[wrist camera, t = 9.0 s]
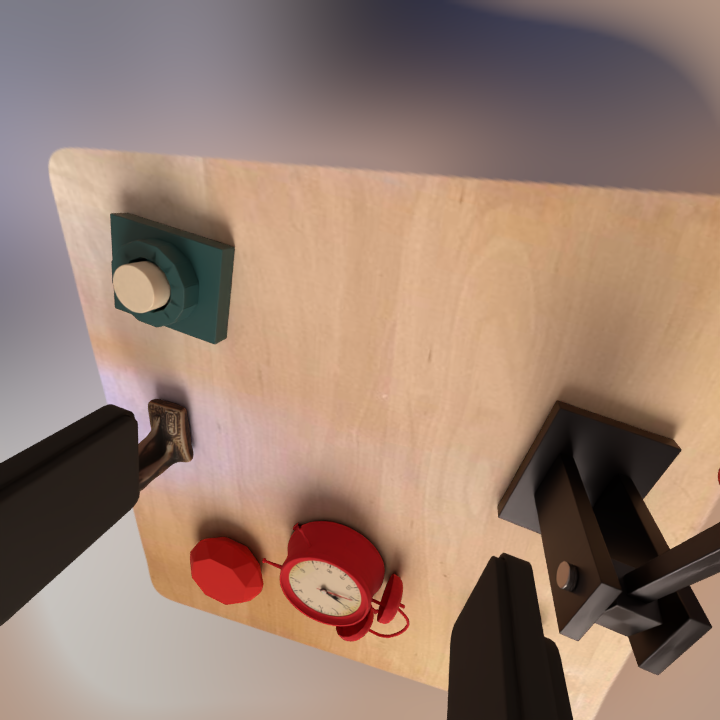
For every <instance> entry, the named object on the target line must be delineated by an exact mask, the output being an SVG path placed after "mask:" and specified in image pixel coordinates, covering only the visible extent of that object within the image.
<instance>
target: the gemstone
mask: <svg viewBox="0 0 720 720" xmlns="http://www.w3.org/2000/svg"><path fill="white" fill-rule="evenodd" d="M190 564H191V574H192V578H193V579H194V581H195V582H196V583H197V585H198V586H199V587H200V588H201V590H202V591H203V592H204V594H205V595H207V596H209V597H211V598H213V599H215V600H217V601H219V602H221V603H223V604H225V605H228V604H235V603H242V602H247V601H251V600H252V599H253V598H254V597H256V596H257V595H258V594H259V593H260V592H261V591H262V588H263V579H262V574H261V568H260V564H259V563H258V561H257V560H256V558H255V557H254V556H253V554H252V553H251V551H250V550H249V549H248V547H247V546H245V545H242V544H240V543H238V542H236V541H234V540H232V539H230V538H227V537H219V538H207V539H203V540H200V542H199V543H198V544H197V545H196V546H195V547H194V548H193V549H192V551H191V552H190Z"/></svg>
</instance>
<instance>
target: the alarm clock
mask: <svg viewBox="0 0 720 720" xmlns="http://www.w3.org/2000/svg"><path fill="white" fill-rule="evenodd" d="M297 524H298V523H297ZM297 524H296V525H295V526H294V527H293V530H294V533H293V534H292V536H291V538H290V540H289V543H288V556H287V558H286V560H285V562H284V563H283V565H279V564H276V563H273V562H270V561H267V560H266V558H263V560H262V562H263V563H265V562H266V563H268V564H270V565H273V566H275V567H277V568H279V569H281V572H280V585H281V588H282V591H283V593H284V595H285V596H286V598H287V599H288V600H289V601H290V603H291V604H292V605H293V606H294V607H295V608H296V609H298V610H299V611H300V612H301V613H303V614H304V615H306V616H308V617H309V618H311V619H313V620H315V621H318V622H321V623H324V624H327V625H332V626H336V630H337V633H338V635H339V636H340V637H341V638H342V639H344V640H345V641H356V640H359V639H360V638H362V637H363V636H365V634H366V633H367V632H368V631H369V632H371V633H372V634H375V635H377V636H379V637H383V638H390V637H395V636H398V635H400V634H402V633H403V632H404V631H406V630H407V628H408V627H409V619H408V618H407V616H406V615H405V614H404V612H403V611H402V610H401V609H400V608H399V607H401V608H403V609H404V608H405V605H403V604H401V603H400V602H401V598H402V594H403V583H402V580H401V579H400V577H398V576H397V575H395V574H392V575H391V577H390V579H389V581H388V583H387V585H386V587H385V590H384V593H383V596H382V599H381V602H379V601H377V600H375V599H373V598H372V597H373V595H374V594H375V593H376V592H377V591H378V590H379V589H380V587H381V585H382V583H383V579H384V574H385V569H384V563H383V560H382V558H381V556H380V554H379V552H378V551H377V549H376V548H375V547H374V546H373V545H372V543H371V542H370V541H368V540H367V539H366V538H365V537H364V536H362V535H361V534H360V533H358V532H357V531H355V530H353V529H351V528H349V527H346V526H344V525H341V524H338V523H334V522H328V521H314V522H309V523H306V524H304V525H302V526H300V527H299V526H298V525H297ZM371 602H374V603H376V604H378V605H380V606H379V610H378V609H377V610H375V609H374V608H373V607H372V605H371ZM397 611H399V612H400V613H401V614H402V615H403V616H404V618H405V619H406V621H407V625H406V626H405V628H403V629H402V630H401V631H399V632H397V633H394V634H391V635H384V634H379V633H377V632H375V631H373V630H371V629H370V627H371V625H372V622H373V618H374V614H377V613H378V616H377V621H378V622H380V623H383V624H386V623H389V622H390V621H391V620H392V619H393V618H394V617H395V615H396V613H397Z"/></svg>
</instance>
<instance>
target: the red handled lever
mask: <svg viewBox="0 0 720 720" xmlns="http://www.w3.org/2000/svg"><path fill="white" fill-rule="evenodd" d="M718 481H719V484H720V469H719V472H718ZM611 561H612V563H613V566H614V569H615V572H616V574H617V577H618V580H619V583H620V585H621V588H622V592H621V594H620V595H619V596H618V597H617V598H616V599H615V600H614V601H613V603H612V604H611V605H610V606H609V607H608V608H607V609H606V610H605V612H604V613H603V614H602V615H601V616H600V617H599V618H598V620H597V621H596V622H595V623H596V624H598V625H601V626H603V627H606V628H608V629H610V630H613V631H615V632H618V633H620V634H622V635H625V636H627V637H629V636H631V635H634V634H637V633H639V632H642V631H645V630H648V629H650V628H653V627H656V626H658V625H661V624H662V623H663V622H662V617H661V613H660V608H659V603H658V599H660V598H662V597H664V596H667V595H669V594H671V593H674V592H676V591H678V590H680V589H683V588H685V587H687V586H690V585H692V584H694V583H696V582H699V581H701V580H703V579H705V578H708V577H710V576H712V575H715V574H717V573H719V572H720V522H719V523H717V524H716V525H714V526H712V527H710V528H708V529H706V530H705V531H703V532H701V533H699V534H697V535H696V536H694V537H692V538H690V539H688V540H687V541H685V542H683V543H681V544H679V545H678V546H676V547H674V548H672V549H670V550H668V551H667V552H665V553H663V554H661V555H659V556H658V557H656V558H654V559H652V560H650V561H649V562H647V563H645V564H643V565H641V566H639V567H638V568H634V567H632V566H629V565H627V564H624V563H622V562H619V561H617V560H614V559H611Z"/></svg>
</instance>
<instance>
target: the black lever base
mask: <svg viewBox="0 0 720 720" xmlns="http://www.w3.org/2000/svg"><path fill="white" fill-rule="evenodd" d="M680 452H681V448H680V447H679V446H678V445H677V443H676V442H675V441H674V440H672V439H669V438H666V437H663V436H660V435H657V434H654V433H651V432H648V431H645V430H642V429H639V428H636V427H634V426H631V425H628V424H625V423H622V422H619V421H616V420H613V419H610V418H607V417H604V416H601V415H598V414H595V413H592V412H589V411H586V410H583V409H581V408H578V407H575V406H572V405H569V404H566V403H563V402H560V401H557V402H556V404H555V405H554V407H553V409H552V411H551V412H550V414H549V416H548V418H547V420H546V421H545V423H544V425H543V427H542V429H541V430H540V432H539V434H538V436H537V438H536V439H535V441H534V443H533V445H532V446H531V448H530V450H529V452H528V454H527V455H526V457H525V459H524V461H523V463H522V464H521V466H520V468H519V470H518V472H517V473H516V475H515V477H514V479H513V480H512V482H511V484H510V486H509V488H508V489H507V491H506V493H505V495H504V497H503V498H502V500H501V502H500V504H499V506H498V517H499V518H501V519H504V520H506V521H509V522H511V523H514V524H516V525H519V526H521V527H524V528H527V529H529V530H532V531H534V532H537V533H539V534H541V536H542V542H543V547H544V553H545V558H546V563H547V569H548V574H549V579H550V585H551V590H552V596H553V601H554V606H555V612H556V617H557V622H558V628H559V633H560V634H562V635H564V636H567V637H569V638H571V639H574V640H576V641H579V640H580V639H581V638H582V637H583V635H584V634H585V633H586V632H587V631H588V630H589V629H590V627H591V626H592V625H593V624H594V623H595V622H596V621H597V620H598V618H599V617H600V616H601V615H602V614H603V613H604V612H605V610H606V609H607V608H608V607H609V606H610V605H611V604H612V603H613V601H614V600H615V599H616V598H617V597H618V596H619V595H620V594H621V592H622V588H621V585H620V583H619V580H618V577H617V574H616V572H615V569H614V566H613V563H612V561H611V559H614V560H617V561H619V562H622V563H624V564H627V565H629V566H632V567H634V568H638V567H639V566H641V565H643V564H645V563H647V562H649V561H650V560H652V559H654V558H656V557H658V556H659V555H661V554H663V553H665V552H667V551H668V550H670V548H669V546H668V545H667V543H666V541H665V539H664V537H663V535H662V534H661V532H660V530H659V528H658V526H657V524H656V523H655V521H654V519H653V517H652V515H651V513H650V512H649V510H648V508H647V506H646V504H645V502H644V501H643V499H644V498H645V496H646V495H647V494H648V492H649V491H650V490H651V489H652V487H653V486H654V485H655V484H656V482H657V481H658V480H659V478H660V477H661V476H662V475H663V473H664V472H665V471H666V470H667V468H668V467H669V466H670V464H671V463H672V462H673V461H674V459H675V458H676V457H677V456H678V454H679V453H680ZM658 603H659V608H660V613H661V617H662V622H663V623H662V624H661V625H658V626H656V627H653V628H650V629H648V630H645V631H642V632H639V633H637V634H634V635H631V636H629V637H628V638H629V641H630V644H631V647H632V649H633V652H634V655H635V658H636V661H637V664H638V667H640V668H642V669H644V670H647V671H649V672H651V673H653V674H656V675H659V674H660V673H661V672H663V671H664V670H665V669H666V668H667V667H668V666H669V665H671V664H672V663H673V662H674V661H675V660H676V659H677V658H678V657H680V655H682V654H683V653H684V652H685V651H686V650H687V649H689V648H690V647H691V646H692V645H693V644H694V643H695V642H696V641H698V640H699V639H700V638H701V637H702V636H703V635H704V634H706V633H707V632H708V631H709V630H710V629H711V628H712V626H711V624H710V622H709V620H708V618H707V616H706V614H705V613H704V611H703V609H702V607H701V605H700V603H699V602H698V600H697V598H696V596H695V594H694V592H693V591H692V589H691V587H690V586H687V587H685V588H683V589H680V590H678V591H676V592H674V593H671V594H669V595H667V596H664V597H662V598H660V599H658Z"/></svg>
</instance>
